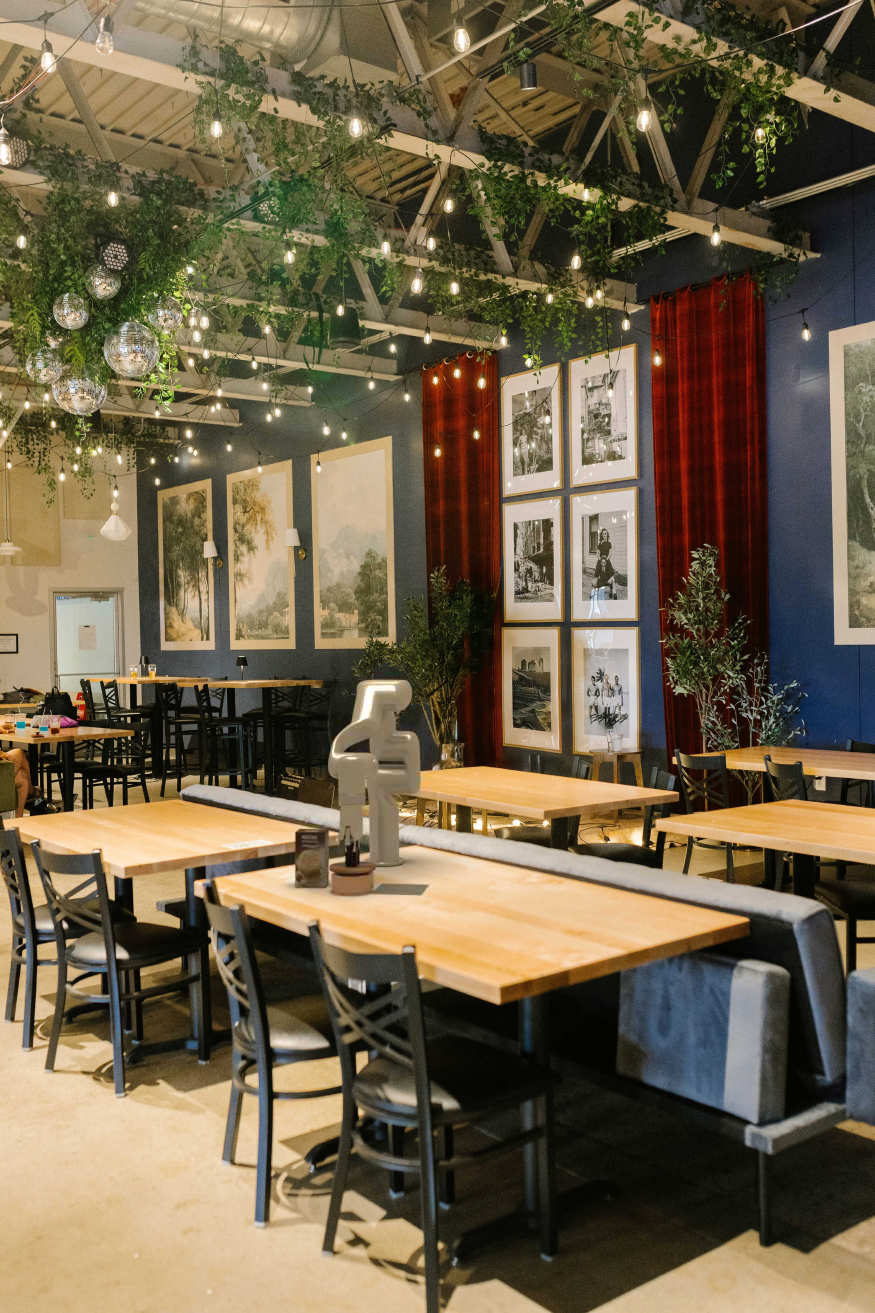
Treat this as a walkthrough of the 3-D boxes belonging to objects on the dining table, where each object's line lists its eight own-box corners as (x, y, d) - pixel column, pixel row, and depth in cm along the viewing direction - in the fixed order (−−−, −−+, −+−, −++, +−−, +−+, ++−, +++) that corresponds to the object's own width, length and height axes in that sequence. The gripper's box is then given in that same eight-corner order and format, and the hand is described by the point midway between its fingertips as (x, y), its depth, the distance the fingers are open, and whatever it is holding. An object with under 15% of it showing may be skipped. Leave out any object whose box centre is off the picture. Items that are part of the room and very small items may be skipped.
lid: (335, 864, 306) (335, 843, 306) (380, 865, 304) (379, 844, 304) (324, 873, 293) (324, 851, 293) (370, 874, 291) (370, 852, 291)
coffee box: (294, 887, 306) (293, 831, 306) (299, 883, 312) (298, 828, 312) (325, 888, 305) (324, 832, 305) (329, 883, 311) (329, 828, 311)
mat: (381, 885, 308) (381, 883, 308) (429, 886, 306) (429, 884, 306) (371, 895, 295) (371, 894, 295) (421, 896, 292) (421, 895, 292)
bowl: (338, 888, 305) (338, 868, 305) (376, 888, 303) (376, 869, 303) (328, 896, 294) (328, 876, 294) (367, 897, 292) (367, 877, 292)
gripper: (345, 796, 307) (346, 859, 307) (331, 803, 291) (332, 870, 291) (371, 796, 306) (371, 860, 306) (358, 803, 290) (359, 871, 290)
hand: (352, 864), depth 299 cm, fingers closed on lid, 2 cm apart
